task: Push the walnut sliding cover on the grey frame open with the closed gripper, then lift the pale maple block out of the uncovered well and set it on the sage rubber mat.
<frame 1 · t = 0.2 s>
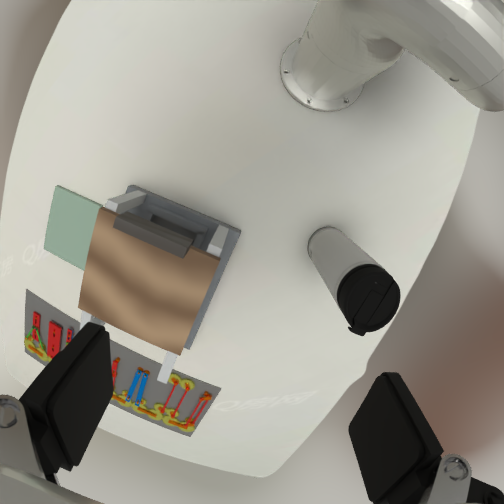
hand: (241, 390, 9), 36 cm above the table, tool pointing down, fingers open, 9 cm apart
travel mug: (326, 247, 45), on the table
rubber mat: (71, 227, 44), on the table
grey frame: (161, 270, 46), on the table
sliding cover: (137, 287, 32), point 14 cm above the table, slide at 0.0 cm
gear board: (107, 370, 54), on the table
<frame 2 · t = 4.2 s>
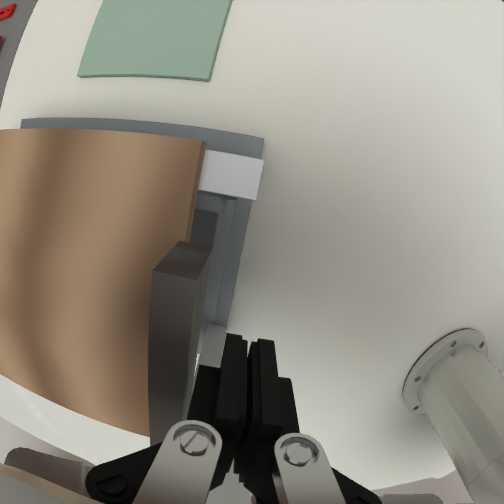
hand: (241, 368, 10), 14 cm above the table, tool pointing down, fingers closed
travel mug: (232, 432, 30), on the table
rubber mat: (154, 26, 18), on the table
grey frame: (114, 228, 23), on the table
sliding cover: (32, 308, 10), point 14 cm above the table, slide at 1.2 cm, touching gripper
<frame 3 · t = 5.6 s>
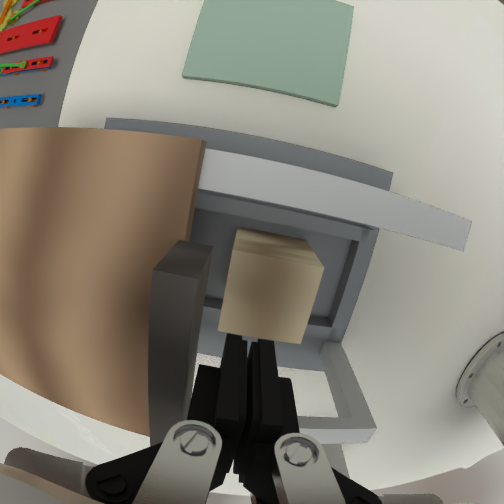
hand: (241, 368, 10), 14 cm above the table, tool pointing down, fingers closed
travel mug: (311, 438, 31), on the table
rubber mat: (272, 35, 19), on the table
maple block: (265, 265, 22), point 2 cm above the table, touching grey frame
grey frame: (227, 249, 24), on the table
sliding cover: (31, 308, 10), point 14 cm above the table, slide at 11.1 cm, touching gripper
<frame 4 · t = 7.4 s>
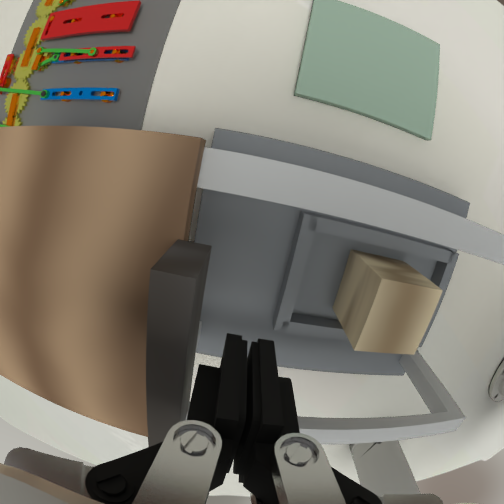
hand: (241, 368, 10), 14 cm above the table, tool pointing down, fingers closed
travel mug: (370, 437, 31), on the table
rubber mat: (374, 64, 19), on the table
maple block: (369, 284, 23), point 2 cm above the table, touching grey frame
grey frame: (329, 269, 24), on the table
sliding cover: (29, 307, 10), point 14 cm above the table, slide at 19.8 cm, touching gripper
gear board: (50, 154, 22), on the table
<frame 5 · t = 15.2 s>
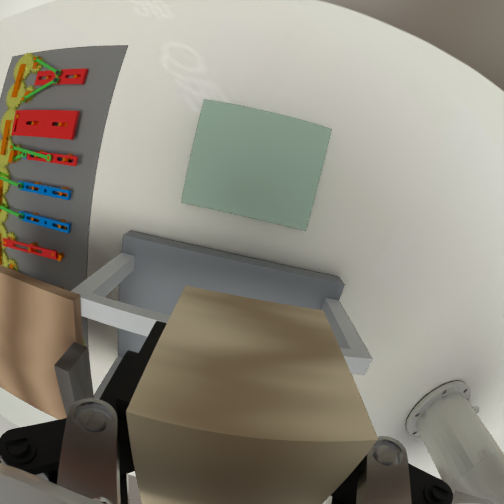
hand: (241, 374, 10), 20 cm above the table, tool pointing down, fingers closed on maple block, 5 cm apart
rubber mat: (255, 163, 27), on the table
maple block: (242, 355, 11), point 19 cm above the table, touching gripper
grey frame: (218, 330, 32), on the table
sliding cover: (16, 360, 17), point 14 cm above the table, slide at 19.9 cm
gear board: (31, 229, 29), on the table
when the fingers open (3 cm above the table, at t = 18.2 s): maple block drops 1 cm, resting on rubber mat.
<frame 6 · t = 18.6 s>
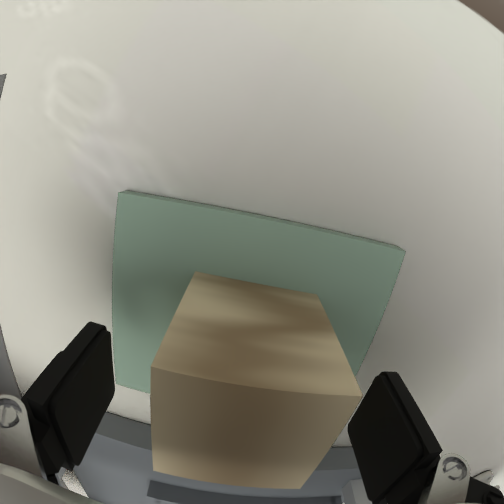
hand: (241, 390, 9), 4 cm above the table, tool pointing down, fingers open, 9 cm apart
rubber mat: (243, 324, 13), on the table
maple block: (245, 335, 13), point 1 cm above the table, touching rubber mat
grey frame: (204, 492, 18), on the table
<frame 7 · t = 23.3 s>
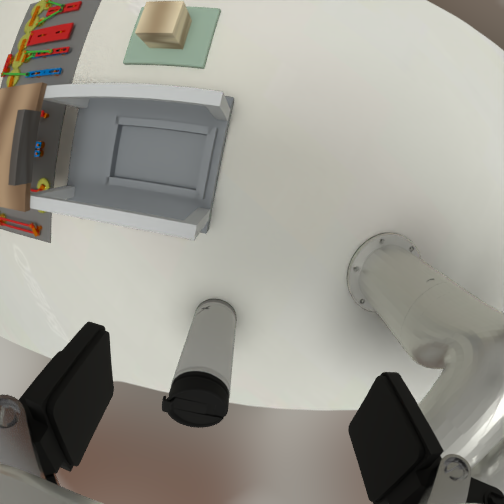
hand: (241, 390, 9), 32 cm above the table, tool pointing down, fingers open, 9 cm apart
travel mug: (214, 316, 45), on the table
rubber mat: (171, 35, 32), on the table
maple block: (170, 33, 31), point 1 cm above the table, touching rubber mat
grey frame: (142, 153, 37), on the table
gear board: (29, 106, 35), on the table
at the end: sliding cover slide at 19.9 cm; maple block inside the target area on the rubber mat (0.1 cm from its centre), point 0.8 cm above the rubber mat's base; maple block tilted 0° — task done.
